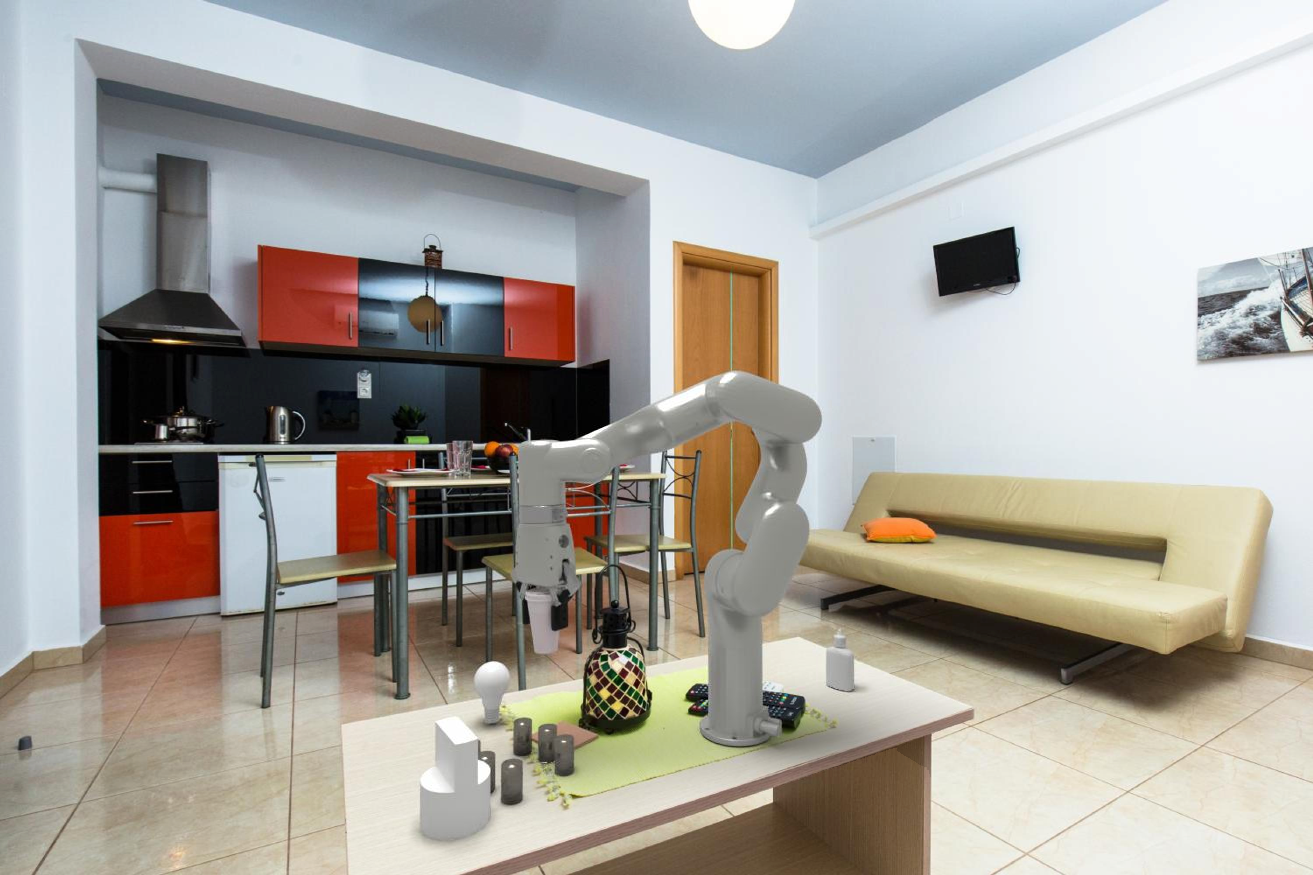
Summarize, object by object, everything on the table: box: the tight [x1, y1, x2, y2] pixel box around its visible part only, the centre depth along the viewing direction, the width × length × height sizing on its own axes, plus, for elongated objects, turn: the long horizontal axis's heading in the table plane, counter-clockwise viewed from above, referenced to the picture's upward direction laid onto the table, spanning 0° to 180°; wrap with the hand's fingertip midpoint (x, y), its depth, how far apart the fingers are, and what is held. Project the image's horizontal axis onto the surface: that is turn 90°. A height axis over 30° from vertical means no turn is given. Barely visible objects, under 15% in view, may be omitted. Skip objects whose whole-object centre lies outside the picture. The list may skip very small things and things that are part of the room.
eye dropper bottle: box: [825, 628, 855, 692], centre depth 132 cm, size 4×6×12 cm
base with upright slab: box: [419, 716, 491, 841], centre depth 85 cm, size 9×9×12 cm
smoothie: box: [525, 586, 562, 655], centre depth 104 cm, size 6×6×14 cm
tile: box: [532, 720, 599, 751], centre depth 109 cm, size 9×8×1 cm
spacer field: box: [478, 716, 575, 806], centre depth 97 cm, size 13×15×5 cm
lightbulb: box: [473, 661, 511, 725], centre depth 115 cm, size 6×6×11 cm
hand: (545, 624), depth 104 cm, fingers closed on smoothie, 6 cm apart
